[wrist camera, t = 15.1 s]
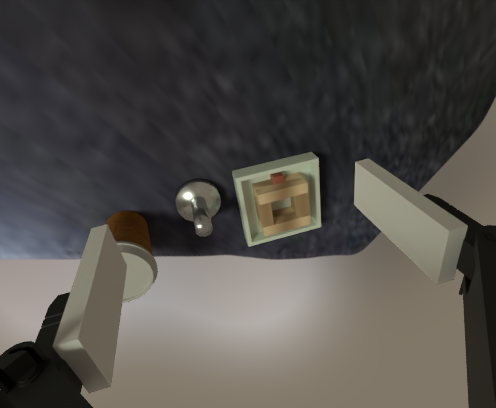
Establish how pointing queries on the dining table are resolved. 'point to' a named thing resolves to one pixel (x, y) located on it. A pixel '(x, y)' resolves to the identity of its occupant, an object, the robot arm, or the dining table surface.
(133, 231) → the disposable coffee cup
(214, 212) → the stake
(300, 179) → the wooden square frame
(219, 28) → the dining table surface
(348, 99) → the dining table surface
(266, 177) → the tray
